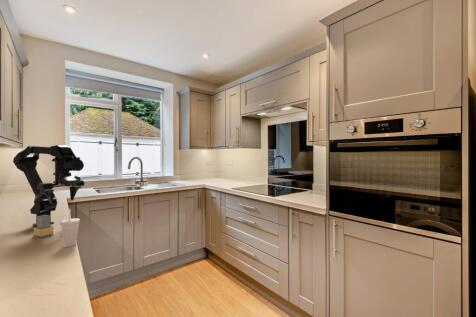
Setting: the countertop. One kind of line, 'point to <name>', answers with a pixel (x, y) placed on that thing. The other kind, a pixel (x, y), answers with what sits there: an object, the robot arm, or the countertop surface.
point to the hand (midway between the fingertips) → (62, 202)
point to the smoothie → (69, 230)
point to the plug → (43, 221)
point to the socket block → (43, 232)
